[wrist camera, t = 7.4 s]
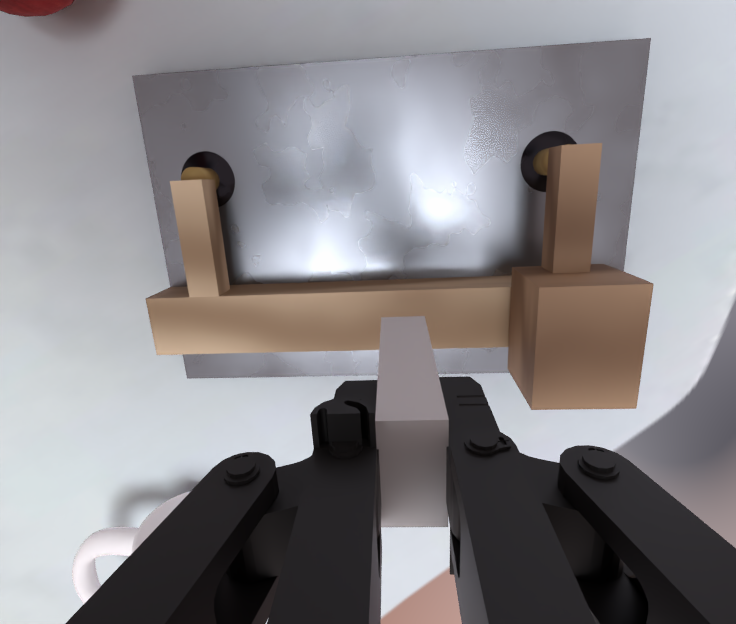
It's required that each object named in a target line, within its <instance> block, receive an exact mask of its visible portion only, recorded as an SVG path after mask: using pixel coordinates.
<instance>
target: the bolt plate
mask: <svg viewBox="0 0 736 624" xmlns="http://www.w3.org/2000/svg"><path fill="white" fill-rule="evenodd" d="M650 41H651V38H646V39H632V40H619V41H605V42H591V43H577V44H563V45H550V46H536V47H522V48H508V49H494V50H481V51H467V52H453V53H439V54H425V55H412V56H398V57H384V58H370V59H357V60H343V61H329V62H315V63H301V64H288V65H274V66H260V67H246V68H232V69H219V70H205V71H191V72H177V73H163V74H150V75H136V76H132V77H133V82H134V88H135V94H136V99H137V105H138V110H139V116H140V121H141V127H142V132H143V138H144V143H145V149H146V154H147V160H148V165H149V171H150V176H151V182H152V187H153V193H154V198H155V204H156V209H157V215H158V220H159V226H160V231H161V237H162V243H163V248H164V254H165V259H166V265H167V270H168V276H169V281H170V287H188V286H187V280H186V274H185V268H184V262H183V257H182V251H181V245H180V239H179V233H178V227H177V221H176V215H175V209H174V204H173V198H172V192H171V186H170V181H181V175H182V172H183V171H184V170H185V169H186V168H189V167H200V168H210V169H212V170H214V171H215V172H216V173H217V175H218V176H219V186H218V188H217V189H216V193H217V200H218V207H219V214H220V221H221V228H222V235H223V242H224V250H225V257H226V264H227V271H228V278H229V285H248V284H277V283H306V282H335V281H364V280H394V279H423V278H452V277H481V276H510V275H512V267H528V266H541V264H542V248H543V232H544V217H545V201H546V185H547V175H540V174H538V173H537V172H536V171H535V170H534V167H533V160H534V157H535V156H536V154H537V153H538V152H540V151H541V150H544V149H548V148H551V147H556V146H560V145H566V144H571V145H574V144H592V143H602V152H601V163H600V173H599V184H598V194H597V205H596V215H595V225H594V236H593V246H592V257H591V264H605V265H608V266H610V267H613V268H615V269H618V270H620V271H624V262H625V254H626V245H627V237H628V228H629V220H630V211H631V203H632V194H633V186H634V177H635V169H636V160H637V152H638V143H639V135H640V126H641V118H642V109H643V101H644V92H645V84H646V75H647V67H648V58H649V50H650ZM432 350H433V354H434V359H435V363H436V367H437V371H438V374H459V373H510V372H509V370H508V369H507V368H508V347H491V348H446V349H432ZM183 358H184V364H185V369H186V375H187V378H237V377H292V376H348V375H378V364H379V350H356V351H311V352H266V353H222V354H183Z"/></svg>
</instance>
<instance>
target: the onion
mask: <svg viewBox="0 0 736 624" xmlns="http://www.w3.org/2000/svg"><path fill="white" fill-rule="evenodd" d="M73 1H74V0H0V10H1V11H3V12H6V13H9V14H13V15H19V16H46V15H50V14H53V13H56V12H58V11H59V10H61V9H63V8H65V7H67V6H69V5H71V4H72V3H73Z"/></svg>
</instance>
